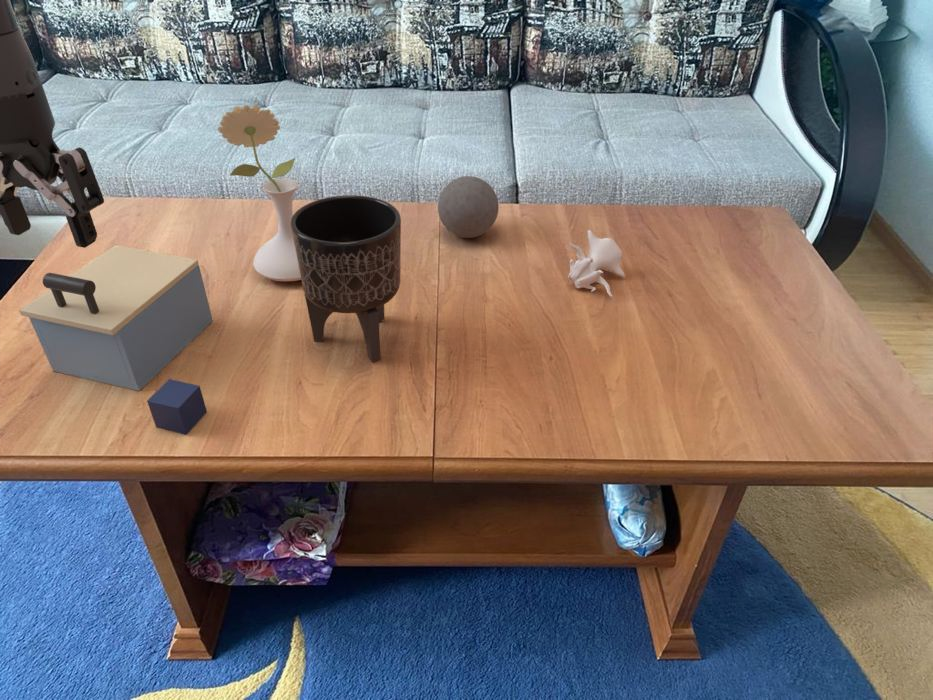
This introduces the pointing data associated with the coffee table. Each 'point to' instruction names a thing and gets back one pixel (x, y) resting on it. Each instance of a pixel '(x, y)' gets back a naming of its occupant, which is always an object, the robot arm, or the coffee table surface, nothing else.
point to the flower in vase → (266, 188)
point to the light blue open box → (131, 338)
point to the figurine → (595, 263)
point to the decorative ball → (468, 207)
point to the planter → (348, 261)
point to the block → (177, 406)
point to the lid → (108, 289)
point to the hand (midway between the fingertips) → (54, 237)
